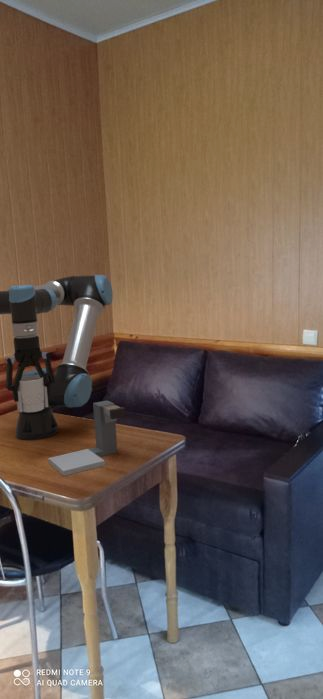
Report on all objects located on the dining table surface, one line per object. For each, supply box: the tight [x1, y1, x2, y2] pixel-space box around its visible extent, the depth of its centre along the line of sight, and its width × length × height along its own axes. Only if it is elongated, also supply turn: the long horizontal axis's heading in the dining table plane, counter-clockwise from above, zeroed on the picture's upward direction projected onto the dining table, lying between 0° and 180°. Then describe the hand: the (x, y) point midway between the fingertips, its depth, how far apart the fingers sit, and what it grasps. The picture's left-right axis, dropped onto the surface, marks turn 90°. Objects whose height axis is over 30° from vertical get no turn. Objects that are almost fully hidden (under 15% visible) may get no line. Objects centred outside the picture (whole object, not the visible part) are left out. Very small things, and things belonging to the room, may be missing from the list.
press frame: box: [48, 400, 118, 477], centre depth 162 cm, size 13×21×16 cm, turn 121°
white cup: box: [18, 376, 44, 412], centre depth 165 cm, size 8×8×10 cm
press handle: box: [101, 403, 127, 423], centre depth 163 cm, size 8×4×5 cm, turn 31°
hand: (33, 408), depth 166 cm, fingers closed on white cup, 7 cm apart
